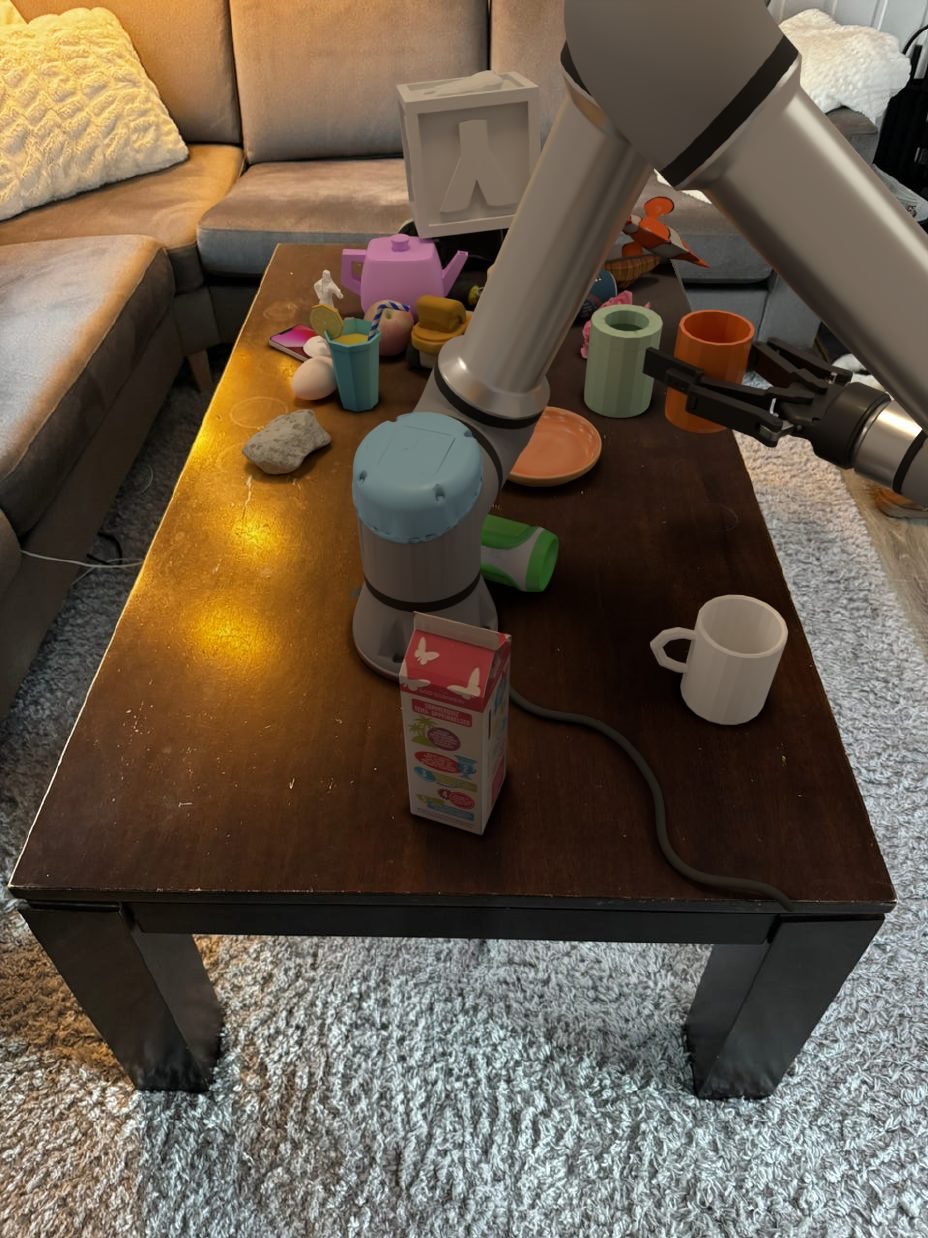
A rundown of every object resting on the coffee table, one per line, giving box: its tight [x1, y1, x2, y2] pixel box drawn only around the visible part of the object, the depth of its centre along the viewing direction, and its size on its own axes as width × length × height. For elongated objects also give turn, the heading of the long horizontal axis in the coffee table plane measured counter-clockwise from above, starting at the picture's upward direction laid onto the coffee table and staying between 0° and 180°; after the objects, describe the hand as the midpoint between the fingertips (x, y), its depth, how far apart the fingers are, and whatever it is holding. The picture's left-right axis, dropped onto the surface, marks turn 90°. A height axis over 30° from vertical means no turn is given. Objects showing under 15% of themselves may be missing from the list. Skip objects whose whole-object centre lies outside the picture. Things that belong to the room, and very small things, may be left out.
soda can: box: [575, 269, 618, 320], centre depth 142 cm, size 7×7×12 cm
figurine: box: [303, 269, 344, 359], centre depth 131 cm, size 7×7×12 cm
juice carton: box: [398, 611, 512, 836], centre depth 73 cm, size 7×7×22 cm
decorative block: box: [395, 70, 542, 239], centre depth 140 cm, size 19×19×20 cm
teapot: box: [339, 233, 468, 326], centre depth 141 cm, size 20×12×13 cm, turn 90°
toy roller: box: [405, 295, 474, 370], centre depth 132 cm, size 9×14×10 cm, turn 153°
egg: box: [290, 356, 338, 401], centre depth 127 cm, size 6×6×8 cm
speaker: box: [481, 513, 560, 593], centre depth 100 cm, size 18×7×8 cm
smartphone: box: [268, 323, 319, 363], centre depth 137 cm, size 7×1×15 cm
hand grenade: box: [445, 276, 485, 309], centre depth 146 cm, size 4×4×10 cm
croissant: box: [602, 253, 661, 290], centre depth 150 cm, size 14×7×5 cm
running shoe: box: [397, 217, 509, 268], centre depth 156 cm, size 11×29×12 cm
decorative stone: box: [241, 408, 332, 475], centre depth 117 cm, size 12×11×5 cm
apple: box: [363, 300, 415, 357], centre depth 135 cm, size 8×8×8 cm
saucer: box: [506, 405, 603, 488], centre depth 116 cm, size 16×16×3 cm
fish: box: [621, 195, 711, 269], centre depth 156 cm, size 20×12×15 cm
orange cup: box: [664, 309, 756, 434], centre depth 92 cm, size 7×7×10 cm
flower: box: [580, 290, 652, 360], centre depth 134 cm, size 11×10×10 cm
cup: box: [307, 301, 410, 413], centre depth 122 cm, size 14×8×15 cm, turn 86°
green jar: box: [583, 304, 664, 419], centre depth 123 cm, size 9×9×12 cm
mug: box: [649, 594, 789, 726], centre depth 86 cm, size 8×12×10 cm, turn 88°
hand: (670, 346), depth 94 cm, fingers closed on orange cup, 7 cm apart
